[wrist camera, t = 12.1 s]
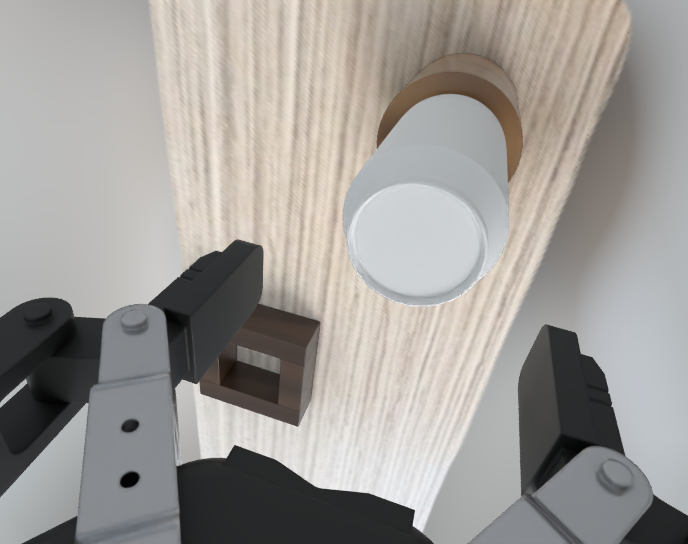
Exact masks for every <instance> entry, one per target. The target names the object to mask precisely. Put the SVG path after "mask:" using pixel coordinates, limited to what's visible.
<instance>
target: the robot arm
mask: <svg viewBox="0 0 688 544" xmlns="http://www.w3.org/2000/svg"><path fill="white" fill-rule="evenodd" d="M262 288H263V248H262V246H260V245H256V244H253V243H249V242H245V241H242V240H235V241H234V242H233V243H232V244H230V245H229V246H228V247H227V248H226V249H225V250H224V251H223V252H219V251H214V252H212V253H210V254H207V255H205V256H203V257H200V258H199V259H198V260H197V261H196V262H195V263H194V264H192V265H191V266H190V267H189V270H188V269H187V270H186V271H185V272H183V273H182V274H181V276H180V278H179V277H178V278H177V279H176V280H174V281H173V282H172V283H171V284H170V285H169V286H168V287H167V288H166V289H164V290H163V291H162V292H161V293H160V294H159V295H158V296H157V297H155V298H154V299H153V300H152V301H151V302H150V303H149V304H148V305H147V304H134V305H129V306H125V307H122V308H120V309H118V310H116V311H114V312H113V313H111V314H110V315H109V316H108V317H107V318H106V319H103V318H86V317H74V314H73V310H72V307H71V305H70V304H69V303H68V302H66V301H64V300H62V299H58V298H39V299H34V300H31V301H27V302H25V303H22V304H20V305H18V306H16V307H15V308H13V309H12V310H10V311H9V312H8V313H6V314H5V315H3V316H2V317H1V318H0V402H1V401H2V400H3V399H4V398H5V397H6V396H7V395H8V394H9V393H10V392H11V391H12V390H13V389H15V388H16V387H17V386H18V385H19V384H20V383H21V382H22V381H23V380H25V379H26V380H27V384H26V385H25V386H24V387H23V388H22V389H21V390H20V391H19V392H17V393H16V394H15V395H14V396H13V397H12V398H11V399H10V400H9V401H7V402H6V403H5V404H4V405H3V406H2V407H1V408H0V497H1V496H2V495H3V494H4V493H5V492H6V490H7V489H8V488H9V487H10V486H11V485H12V484H13V483H14V482H15V481H16V480H17V478H18V477H19V476H20V475H21V474H22V473H23V472H24V471H25V470H26V468H27V467H28V466H29V465H30V464H31V463H32V462H33V461H34V460H35V459H36V458H37V456H38V455H39V454H40V453H41V452H42V451H43V450H44V449H45V448H46V447H47V445H48V444H49V443H50V442H51V441H52V440H53V439H54V438H55V437H56V436H57V435H58V433H59V432H60V431H61V430H62V429H63V428H64V427H65V426H66V425H67V424H68V422H69V421H70V420H71V419H72V418H73V417H74V416H75V415H76V414H77V412H79V410H80V409H81V408H82V407H83V406H84V405H85V404H86V403H89V406H88V416H87V426H86V436H85V446H84V456H83V466H82V477H81V486H80V497H79V506H78V516H76V517H74V518H72V519H70V520H68V521H66V522H64V523H62V524H60V525H58V526H56V527H54V528H52V529H50V530H48V531H46V532H44V533H42V534H40V535H38V536H36V537H34V538H32V539H30V540H28V541H26V542H24V543H22V544H434V543H433V542H432V541H431V540H430V539H429V538H427V537H426V536H425V535H424V534H423V533H422V532H420V531H419V530H418V529H416V528H415V527H413V526H412V525H413V519H414V513H415V510H413V509H410V508H408V507H405V506H402V505H399V504H396V503H394V502H391V501H388V500H385V499H383V498H380V497H377V496H374V495H372V494H369V493H360V492H350V491H340V490H330V489H321V488H317V487H315V486H313V485H312V484H310V483H309V482H307V481H306V480H304V479H303V478H302V477H300V476H299V475H297V474H296V473H294V472H293V471H291V470H290V469H289V468H287V467H286V466H284V465H283V464H281V463H280V462H278V461H277V460H275V459H272V458H269V457H266V456H263V455H261V454H258V453H255V452H252V451H250V450H247V449H244V448H241V447H239V446H236V445H234V447H233V449H232V450H231V452H230V454H229V455H228V457H227V458H208V459H201V460H196V461H192V462H188V463H185V464H182V460H181V449H180V438H179V426H178V415H177V403H176V393H175V388H176V386H177V385H178V384H179V383H180V381H181V380H182V379H183V380H186V381H189V382H192V383H194V384H198V382H199V381H200V380H201V378H202V377H203V376H204V374H205V373H206V372H207V371H208V369H209V368H210V367H211V365H212V364H213V363H214V362H215V360H216V359H217V358H218V356H219V355H220V354H221V353H222V351H223V350H224V349H225V347H226V346H227V345H228V343H229V342H230V341H231V340H232V338H233V337H234V336H235V334H236V333H237V332H238V331H239V329H240V328H241V327H242V325H243V324H244V323H245V322H246V320H247V319H248V318H249V316H250V315H251V314H252V312H253V311H254V310H255V309H256V307H257V305H258V303H259V301H260V298H261V295H262ZM518 400H519V401H518V402H519V432H520V433H519V436H520V466H521V468H520V469H521V496H522V497H521V498H520V499H518V500H517V501H516V502H515V503H514V504H513V505H512V506H510V507H509V508H508V509H507V510H506V511H505V512H503V513H502V514H501V515H500V516H499V517H498V518H496V519H495V520H494V521H493V522H492V523H491V524H490V525H489V526H487V527H486V528H485V529H484V530H483V531H482V532H480V533H479V534H478V535H477V536H476V537H475V538H474V539H472V540H471V541H470V542H469V543H468V544H688V516H687V515H686V514H684V513H682V512H681V511H679V510H677V509H675V508H674V507H672V506H670V505H668V504H667V503H665V502H664V501H662V500H660V499H659V498H658V497H656V496H655V495H654V494H653V491H652V487H651V485H650V483H649V481H648V479H647V477H646V476H645V475H644V473H643V472H642V471H641V470H640V469H639V467H638V466H637V465H636V464H634V463H633V462H632V461H631V460H630V459H628V458H627V457H626V456H625V453H624V449H623V445H622V442H621V437H620V433H619V429H618V426H617V421H616V417H615V413H614V410H613V407H611V405H612V402H611V398H610V394H609V393H608V386H607V382H606V378H605V374H604V373H603V371H602V370H601V369H600V367H599V366H598V364H597V363H596V362H595V360H594V359H593V358H592V357H589V356H586V355H582V354H581V353H580V348H579V344H578V338H577V335H576V333H575V332H572V331H568V330H564V329H560V328H556V327H553V326H550V325H544V326H543V327H542V328H541V330H540V332H539V334H538V336H537V338H536V340H535V342H534V344H533V346H532V348H531V350H530V352H529V354H528V356H527V359H526V360H525V363H524V365H523V367H522V370H521V373H520V377H519V383H518Z"/></svg>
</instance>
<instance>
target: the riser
mask: <svg viewBox="0 0 688 544" xmlns="http://www.w3.org/2000/svg"><path fill="white" fill-rule="evenodd" d="M442 94H458V95H464V96H467V97H470V98H473V99H475V100H477V101H479V102H480V103H482V104H483V105H485V106H486V107H487V108H488V109H489V110H490V111H491V112H492V113H493V114H494V115H495V117H496V118H497V119H498V121H499V123H500V125H501V127H502V129H503V132H504V135H505V140H506V148H507V171H508V183H509V182H510V180H511V178H512V177H513V175H514V173H515V171H516V169H517V167H518V164H519V161H520V157H521V152H522V141H523V136H522V128H521V121H520V114H519V106H518V99H517V95H516V91H515V88H514V86H513V84H512V82H511V80H510V78H509V77H508V75H507V74H506V73H505V72H504V71H503V69H501V68H500V67H499V66H498V65H497V64H495V63H494V62H492V61H491V60H489V59H487V58H484V57H482V56H478V55H475V54H453V55H448V56H445V57H442V58H440V59H438V60H435V61H434V62H432V63H430V64H429V65H427V66H426V67H425V68H424V69H422V70H421V71H420V72H419V73H418V74H417V75H416V76H415V77H414V78H413V80H412V81H411V82H410V83H409V84H408V85H407V86H406V87H405V88H404V89H403V90H402V91H401V92H400V93H399V94H398V95H397V96H396V97H395V98H394V99H393V101H392V102H391V103H390V105H389V106H388V108H387V110H386V111H385V113H384V115H383V118H382V120H381V123H380V126H379V130H378V135H377V148H378V147H379V146H380V144H381V143H382V142H383V141H384V139H385V138H386V137H387V135H388V134H389V133H390V132H391V130H392V129H393V128H394V127H395V125H396V124H397V123H398V122H399V120H400V119H401V118H402V117H403V116H404V115H405V113H406V112H407V111H408V110H410V109H411V108H412V107H413V106H415V105H416V104H418V103H419V102H421V101H423V100H425V99H427V98H430V97H433V96H437V95H442Z"/></svg>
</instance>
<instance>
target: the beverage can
mask: <svg viewBox="0 0 688 544" xmlns="http://www.w3.org/2000/svg"><path fill="white" fill-rule="evenodd" d="M343 226H344V232H345V236H346V241H347V250H348V254H349V258H350V260H351V263H352V265H353V267H354V269H355V271H356V272H357V274H358V275H359V276H360V278H361V279H362V280H363V281H364V282H365V283H366V284H367V285H368V286H369V287H370V288H371V289H372V290H374V291H375V292H377V293H378V294H380V295H381V296H383V297H385V298H387V299H389V300H391V301H394V302H397V303H400V304H404V305H409V306H418V307H427V306H435V305H440V304H444V303H447V302H450V301H452V300H454V299H456V298H458V297H460V296H462V295H463V294H464V293H466V292H467V291H468V290H469V289H471V288H472V287H473V285H474V284H475V283H476V282H477V281H478V280H480V279H481V278H482V277H483V276H485V275H486V274H487V273H488V272H489V271H490V270H491V269H492V268H493V266H494V265H495V264H496V262H497V261H498V259H499V258H500V256H501V254H502V252H503V250H504V247H505V244H506V241H507V237H508V231H509V202H508V171H507V148H506V140H505V135H504V132H503V129H502V127H501V125H500V123H499V121H498V119H497V118H496V117H495V115H494V114H493V113H492V112H491V111H490V110H489V109H488V108H487V107H486V106H485V105H483V104H482V103H480V102H479V101H477V100H475V99H473V98H470V97H467V96H464V95H458V94H442V95H437V96H433V97H430V98H427V99H425V100H423V101H421V102H419V103H418V104H416V105H415V106H413V107H412V108H411V109H410V110H408V111H407V112H406V113H405V115H404V116H403V117H402V118H401V119H400V120H399V122H398V123H397V124H396V125H395V127H394V128H393V129H392V130H391V132H390V133H389V134H388V135H387V137H386V138H385V139H384V141H383V142H382V143H381V144H380V146H379V147H378V148H377V150H376V151H375V152H374V154H373V155H372V156H371V157H370V159H369V160H368V161H367V163H366V164H365V165H364V166H363V168H362V169H361V170H360V172H359V173H358V174H357V176H356V177H355V179H354V180H353V182H352V183H351V185H350V187H349V190H348V192H347V195H346V198H345V202H344V207H343Z"/></svg>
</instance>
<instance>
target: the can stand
mask: <svg viewBox="0 0 688 544" xmlns="http://www.w3.org/2000/svg"><path fill="white" fill-rule="evenodd" d="M319 329H320V322H318V321H314V320H311V319H307V318H304V317H301V316H297V315H294V314H290V313H287V312H283V311H280V310H277V309H273V308H270V307H266V306H263V305H260V304H258V305H257V307H256V309H255V310H254V311H253V312H252V314H251V315H250V316H249V318H248V319H247V320H246V322H245V323H244V324H243V325H242V327H241V328H240V329H239V331H238V332H237V333H236V334H235V336H234V337H233V338H232V340H231V341H230V342H229V343H228V345H227V346H226V347H225V349H224V350H223V351H222V353H221V354H220V355H219V356H218V358H217V359H216V360H215V362H214V363H213V364H212V365H211V367H210V368H209V369H208V371H207V372H206V373H205V374H204V376H203V377H202V378H201V380H200V393H201V394H203V395H206V396H209V397H212V398H215V399H218V400H220V401H223V402H226V403H229V404H232V405H235V406H238V407H241V408H244V409H247V410H250V411H253V412H256V413H259V414H262V415H265V416H268V417H271V418H274V419H277V420H280V421H283V422H286V423H289V424H292V425H294V426H297V427H298V426H299V424H300V422H301V420H302V418H303V416H304V413H305V411H306V409H307V407H308V405H309V403H310V401H311V394H312V385H313V378H314V370H315V362H316V353H317V345H318V337H319ZM237 345H239V346H242V347H245V348H248V349H252V350H255V351H258V352H261V353H264V354H268V355H271V356H274V357H277V358H280V359H281V367H280V375H279V374H276V373H273V372H270V371H266V370H263V369H260V368H257V367H254V366H251V365H248V364H244V363H241V362H238V361H237Z"/></svg>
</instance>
